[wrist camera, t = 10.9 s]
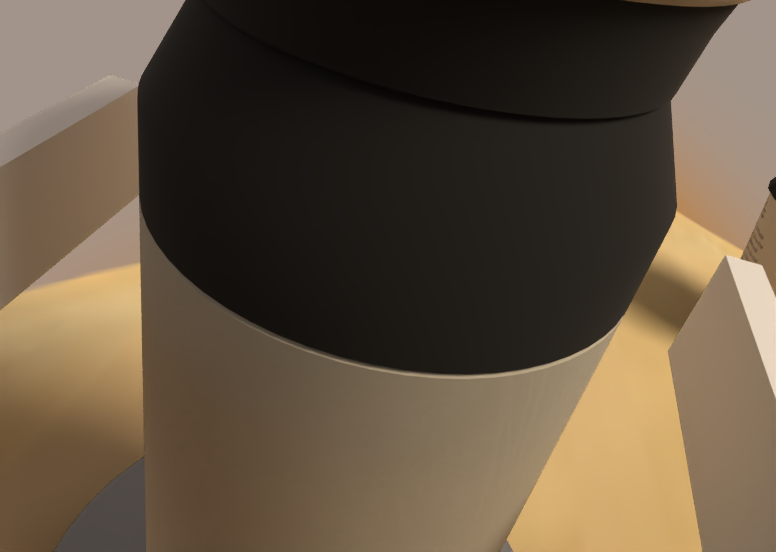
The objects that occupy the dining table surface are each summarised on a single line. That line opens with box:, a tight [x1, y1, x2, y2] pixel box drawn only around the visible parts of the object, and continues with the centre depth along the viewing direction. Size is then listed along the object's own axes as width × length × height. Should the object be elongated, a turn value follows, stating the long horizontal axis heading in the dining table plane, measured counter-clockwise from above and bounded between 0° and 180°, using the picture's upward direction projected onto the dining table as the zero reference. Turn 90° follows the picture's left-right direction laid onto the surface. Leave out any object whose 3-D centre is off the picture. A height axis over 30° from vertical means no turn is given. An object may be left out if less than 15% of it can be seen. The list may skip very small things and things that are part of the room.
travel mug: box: [137, 0, 749, 552], centre depth 14 cm, size 8×8×18 cm
